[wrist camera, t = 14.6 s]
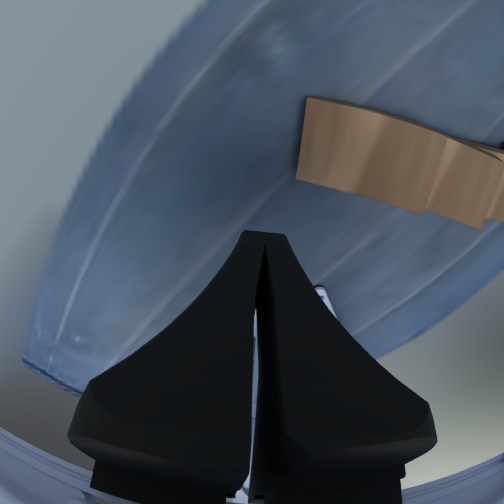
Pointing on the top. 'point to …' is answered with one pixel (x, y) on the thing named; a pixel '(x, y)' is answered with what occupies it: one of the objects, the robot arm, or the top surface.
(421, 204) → the domino
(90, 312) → the top surface
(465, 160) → the domino
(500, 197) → the domino
